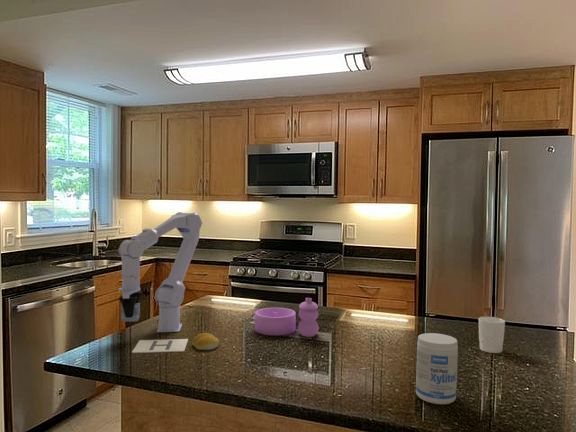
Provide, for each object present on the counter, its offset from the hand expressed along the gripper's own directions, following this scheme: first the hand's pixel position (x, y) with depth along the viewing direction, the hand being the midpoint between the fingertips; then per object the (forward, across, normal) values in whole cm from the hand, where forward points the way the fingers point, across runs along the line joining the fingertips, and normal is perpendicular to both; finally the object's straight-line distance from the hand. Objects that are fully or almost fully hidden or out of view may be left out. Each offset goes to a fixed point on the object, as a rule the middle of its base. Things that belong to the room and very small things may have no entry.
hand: (131, 315), depth 152 cm
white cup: (+9, +20, +118) cm, 121 cm away
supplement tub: (+9, +52, +85) cm, 100 cm away
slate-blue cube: (+2, 0, 0) cm, 2 cm away
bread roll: (+9, +8, +26) cm, 28 cm away
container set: (+9, -6, +54) cm, 55 cm away
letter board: (+8, +8, +11) cm, 16 cm away
